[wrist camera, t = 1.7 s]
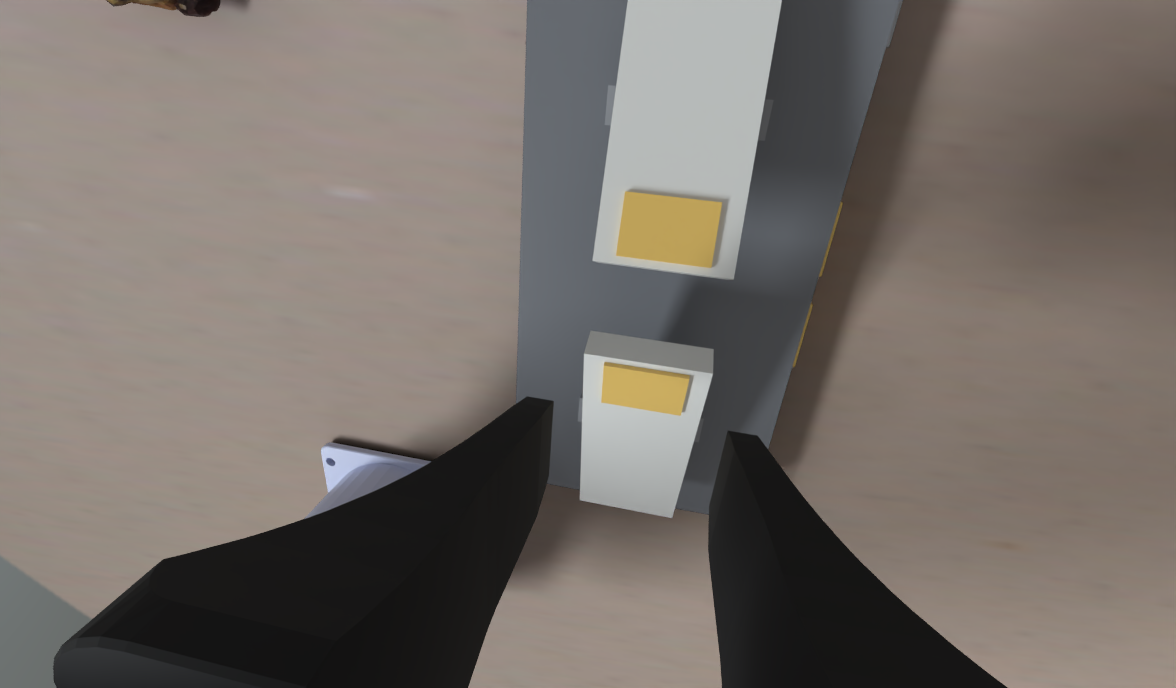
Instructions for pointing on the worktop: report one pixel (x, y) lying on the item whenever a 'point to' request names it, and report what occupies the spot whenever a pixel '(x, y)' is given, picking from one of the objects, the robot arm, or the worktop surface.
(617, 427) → the rocker
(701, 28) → the rocker
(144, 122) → the worktop surface
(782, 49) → the switch unit
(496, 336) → the worktop surface
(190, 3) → the bread roll
